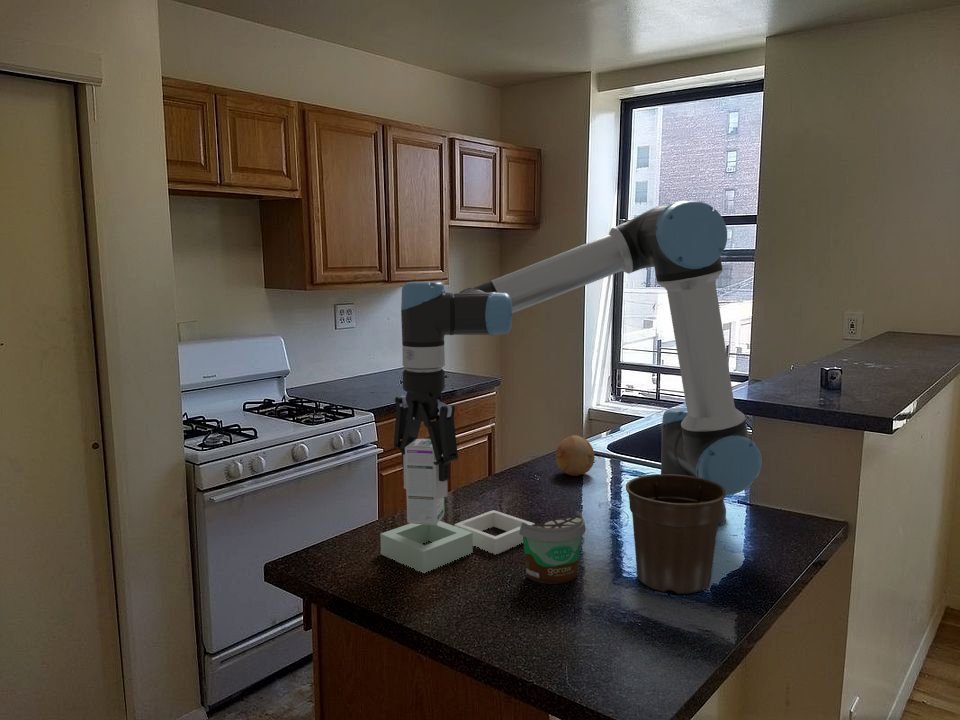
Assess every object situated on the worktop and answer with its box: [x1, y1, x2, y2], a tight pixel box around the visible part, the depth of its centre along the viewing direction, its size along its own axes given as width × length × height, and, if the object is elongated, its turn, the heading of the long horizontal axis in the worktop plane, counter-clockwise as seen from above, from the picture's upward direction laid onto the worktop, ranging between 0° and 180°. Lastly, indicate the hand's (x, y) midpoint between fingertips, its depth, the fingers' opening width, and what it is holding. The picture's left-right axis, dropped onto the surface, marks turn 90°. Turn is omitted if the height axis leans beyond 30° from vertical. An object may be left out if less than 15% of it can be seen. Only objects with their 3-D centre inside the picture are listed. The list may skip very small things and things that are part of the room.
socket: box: [379, 520, 474, 574], centre depth 135 cm, size 12×12×4 cm
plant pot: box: [625, 473, 727, 595], centre depth 123 cm, size 16×16×16 cm
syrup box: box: [405, 438, 446, 525], centre depth 133 cm, size 6×6×14 cm
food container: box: [519, 510, 587, 585], centre depth 124 cm, size 12×6×10 cm, turn 117°
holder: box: [453, 509, 536, 556], centre depth 142 cm, size 11×11×3 cm
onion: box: [555, 434, 595, 477], centre depth 182 cm, size 10×10×10 cm
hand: (425, 492), depth 134 cm, fingers closed on syrup box, 7 cm apart
